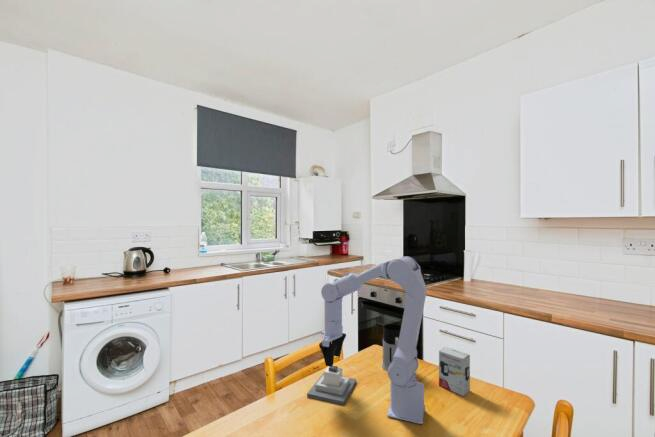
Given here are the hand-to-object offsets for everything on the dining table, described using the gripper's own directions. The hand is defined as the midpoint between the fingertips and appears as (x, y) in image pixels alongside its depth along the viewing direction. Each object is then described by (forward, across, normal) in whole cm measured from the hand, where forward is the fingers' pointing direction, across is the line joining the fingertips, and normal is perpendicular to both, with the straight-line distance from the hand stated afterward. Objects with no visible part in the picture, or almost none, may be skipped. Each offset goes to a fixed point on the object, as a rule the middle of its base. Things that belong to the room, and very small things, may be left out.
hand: (333, 360), depth 99 cm
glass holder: (+9, -19, +17) cm, 28 cm away
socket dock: (+9, 0, 0) cm, 9 cm away
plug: (+8, 0, 0) cm, 8 cm away
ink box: (+9, -14, +37) cm, 41 cm away
